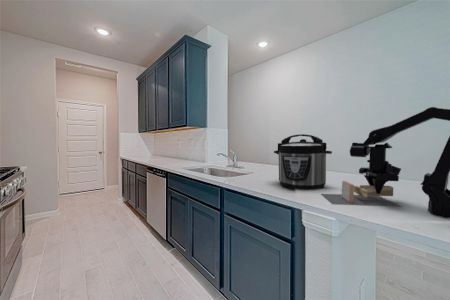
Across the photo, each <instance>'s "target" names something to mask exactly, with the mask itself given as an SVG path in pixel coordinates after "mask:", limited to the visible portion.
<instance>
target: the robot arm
mask: <svg viewBox="0 0 450 300" xmlns="http://www.w3.org/2000/svg"><path fill="white" fill-rule="evenodd" d="M433 119H438V120H442V121H443V120H444V121H448V122H450V108H440V107H435V106H431V107H427V108H426V109H425V110H422V111H420V112H418V113H415V114H414V115H411V116H409V117H407V118H404V119H403V120H400V121H399V122H396V123H393V124H392V125H389V126H384V127H381V128H377V129H374V130H371V131H370V132H369V134H368V137H367V138H366V140H365V141H364V142H352V143H351V146H350V149H349V156H350V157H354V158H367V156H369V159H367V161H366V162H367V163H369V165H368V167H362V166H361V167H360V168H359V169H358V173H359V174H361V175H363V174H364V175H363V177H364V178H365V179H366V181H367V184H368V185H374V186H375V190H376V193H377V194H380V192H381V190H382V188H383V186H385V185H386V183H388V182H399V180H400V178H399V177H400V176H399V175H400V173H401V170H402V168H401V167H397V166H394V165H392V163H390V162H389V161H388V160H387V159H386V158H387V157H386V155H387V149H393V146H392V145H390V144H389V143H388V142H387V141H389V140H390V139H392V138H393V137H394V136H396V135H398V134H400V133H402V132H404V131H407V130H409V129H411V128H413V127H416V126H418V125H421V124H423V123H425V122H428V121H430V120H433ZM383 143H384V144H383ZM373 145H374V146H373ZM449 176H450V135H449V137H448V138H447V141H446V143H445V146H444V147H443V149H442V153H441V154H440V157H439V159H438V161H437V164H436V165H435V168H434V170H433V171H432V173H429V172H426V174H424V176H423V180H422V182H421V183H420V184H419V185H421V191H422V192H423V193H424V194H425V195H426V196H427V197H428V203H427V204H428V207H427V212H429V214H431V215H433V216H436V217H442V218H443V219H444V218H445V219H450V189H448V184H449Z"/></svg>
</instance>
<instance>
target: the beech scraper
mask: <svg viewBox="0 0 450 300" xmlns="http://www.w3.org/2000/svg"><path fill="white" fill-rule="evenodd" d="M354 193H356V195H361V196H362V197H367V196H381V197H394V187H393V186H392V185H384V186H383V188H382V190H381V192H380V194H377V193H376V190H375V186H374V185H369V184H368V185H367V184H360V185H359V186H358V185H354Z"/></svg>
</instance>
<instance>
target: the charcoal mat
mask: <svg viewBox="0 0 450 300" xmlns="http://www.w3.org/2000/svg"><path fill="white" fill-rule="evenodd" d="M320 195H321V196H322V197H323V198H324V199H325V200H327V201H328V202H329V203H330V204H331V205H338V206H339V205H341V206H342V205H343V206H363V207H364V206H367V207H368V206H369V207H371V206H372V207H393V208H394V207H395V208H396V207H399V208H402V207H403V206H402V205H400V204H398V203H396V202H393V201H391V200H389V199H386V198H385V197H384V196H367V197H362V196H361V195H359V194H354V199H353V203H349V202H348V201H347V200H345V199H344V198H342V193H320Z"/></svg>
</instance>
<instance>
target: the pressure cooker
mask: <svg viewBox="0 0 450 300" xmlns="http://www.w3.org/2000/svg"><path fill="white" fill-rule="evenodd" d="M296 137H310V138H311V140H312V141H307V139H305V138H303V139H302V138H301V139H300V140H299V141H291V139H292V138H296ZM273 153H274V154H277V155H278V181H279V184H280V185H281V186H282V187H285V188H289V189H291V190H293V189H297V190H319V189H323V188H324V187H325V186H326V181H327V154H329V155H332V153H333V151H332V150H327V142H323V139H321V138H319V137H318V136H315V135H311V134H293V135H290V136H287V137H285V138H283V139H282V140H281V141H280V143H277V150H274V151H273Z"/></svg>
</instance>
